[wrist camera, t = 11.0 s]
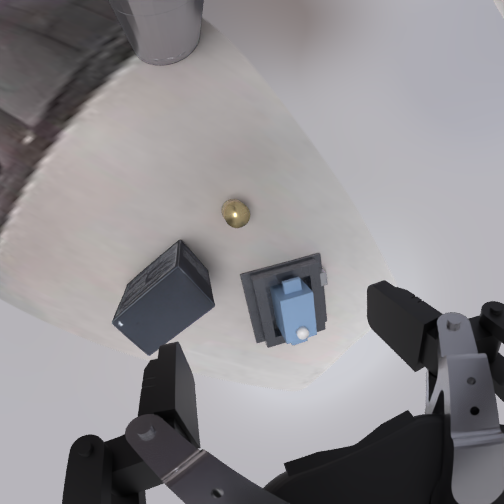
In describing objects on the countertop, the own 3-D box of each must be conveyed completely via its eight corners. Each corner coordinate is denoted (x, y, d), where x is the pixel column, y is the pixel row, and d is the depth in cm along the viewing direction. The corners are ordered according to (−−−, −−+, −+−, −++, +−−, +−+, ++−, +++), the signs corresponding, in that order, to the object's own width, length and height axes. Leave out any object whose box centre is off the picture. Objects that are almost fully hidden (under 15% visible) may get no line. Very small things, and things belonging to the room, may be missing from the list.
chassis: (240, 274, 40) (243, 281, 38) (318, 252, 42) (326, 258, 39) (256, 341, 44) (260, 351, 42) (325, 319, 46) (332, 327, 43)
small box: (156, 316, 40) (149, 359, 30) (125, 284, 38) (107, 322, 28) (211, 272, 40) (218, 308, 30) (180, 237, 37) (176, 263, 27)
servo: (267, 273, 41) (280, 293, 35) (297, 265, 41) (314, 283, 35) (277, 332, 44) (290, 357, 38) (304, 324, 45) (320, 347, 39)
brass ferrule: (219, 202, 37) (222, 206, 33) (241, 196, 37) (247, 200, 34) (224, 223, 38) (227, 230, 34) (246, 218, 38) (252, 224, 34)
